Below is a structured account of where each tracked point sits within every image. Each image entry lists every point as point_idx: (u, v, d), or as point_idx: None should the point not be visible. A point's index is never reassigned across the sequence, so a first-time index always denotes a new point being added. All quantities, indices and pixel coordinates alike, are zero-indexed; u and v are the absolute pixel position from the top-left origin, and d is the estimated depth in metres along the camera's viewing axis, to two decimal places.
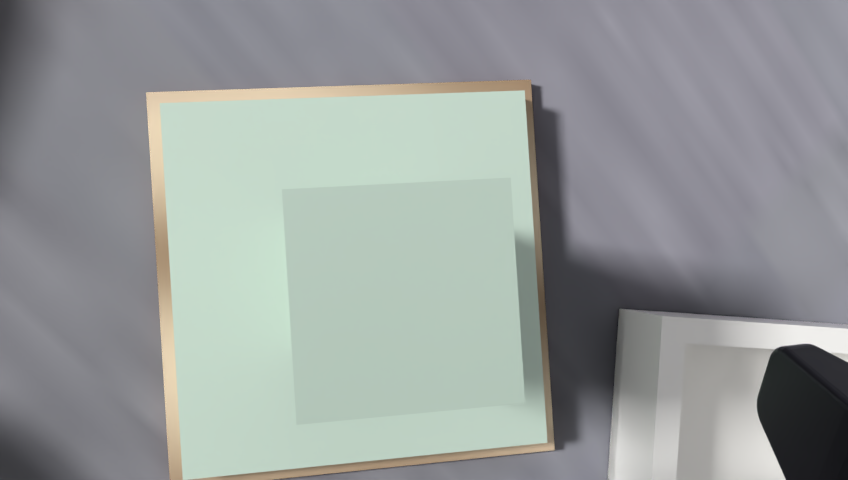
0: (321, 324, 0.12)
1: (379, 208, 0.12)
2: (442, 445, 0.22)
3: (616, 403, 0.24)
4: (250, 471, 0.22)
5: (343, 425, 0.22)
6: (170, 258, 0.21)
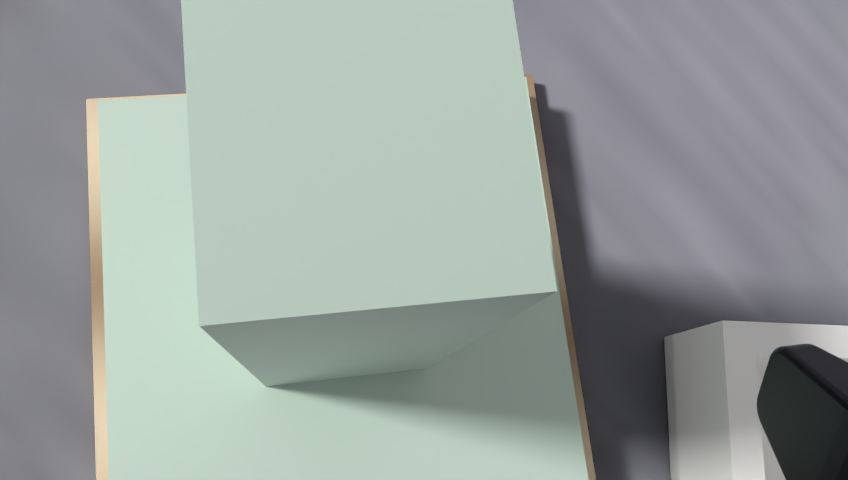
0: (238, 175, 0.08)
1: (322, 16, 0.08)
2: None
3: (675, 455, 0.19)
4: None
5: None
6: (104, 280, 0.17)
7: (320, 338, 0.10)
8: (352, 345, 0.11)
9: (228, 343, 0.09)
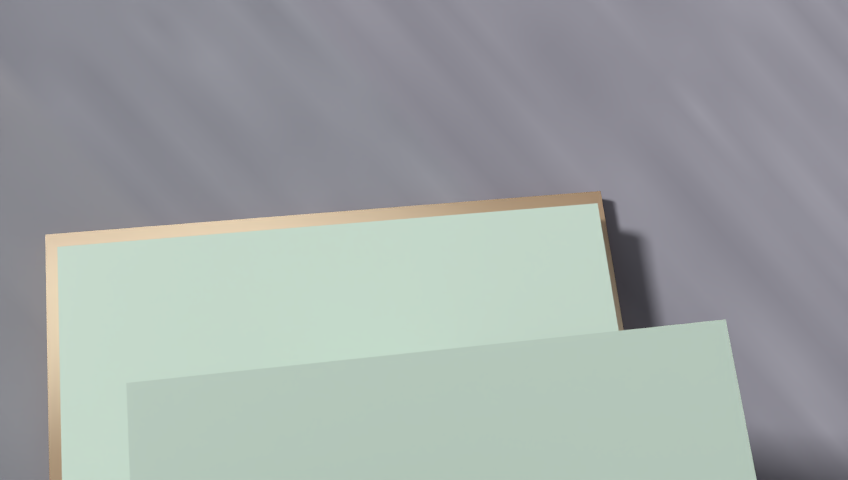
0: None
1: (391, 418, 0.05)
2: None
3: None
4: None
5: None
6: None
7: None
8: None
9: None
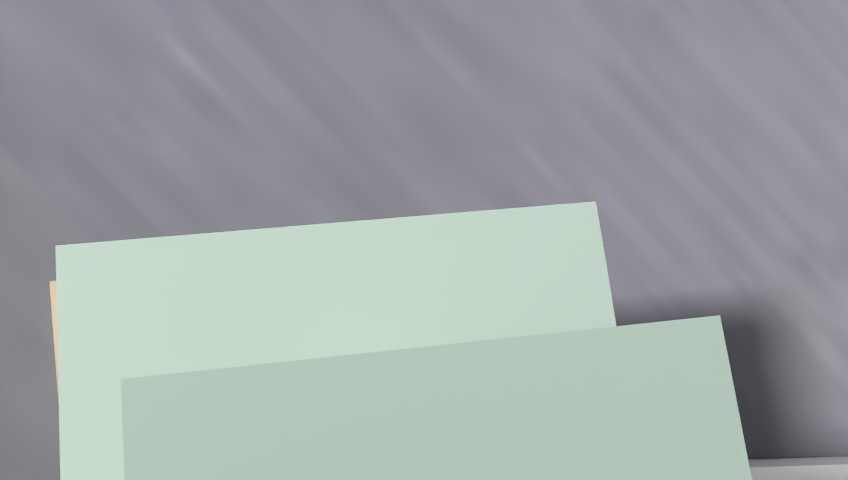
0: None
1: (386, 414, 0.05)
2: None
3: None
4: None
5: None
6: None
7: None
8: None
9: None
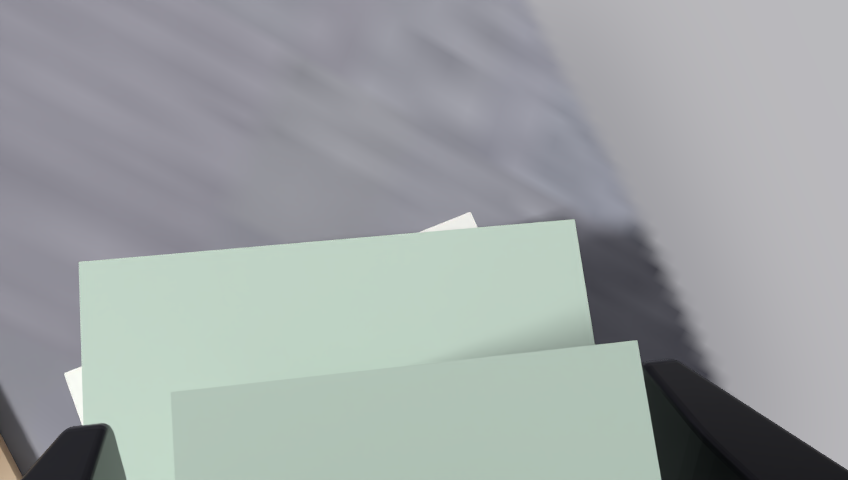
0: None
1: (375, 419, 0.06)
2: None
3: None
4: None
5: None
6: None
7: None
8: None
9: None
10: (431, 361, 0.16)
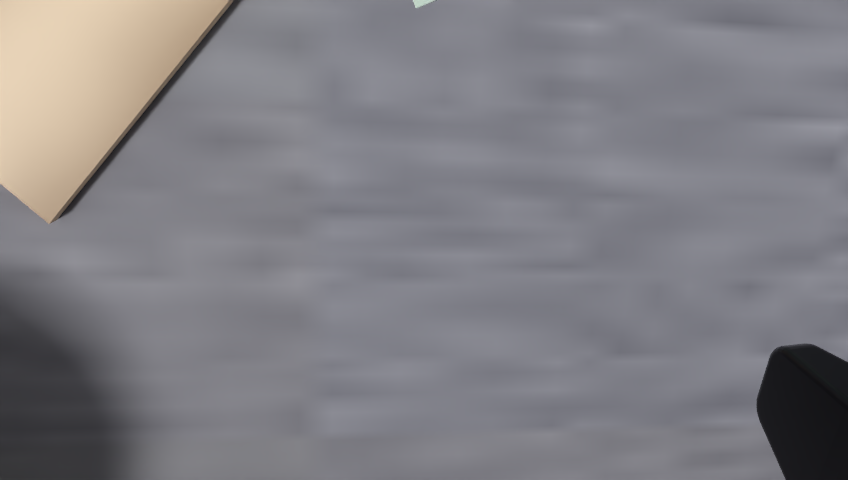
0: None
1: None
2: None
3: None
4: None
5: None
6: None
7: None
8: None
9: None
10: None
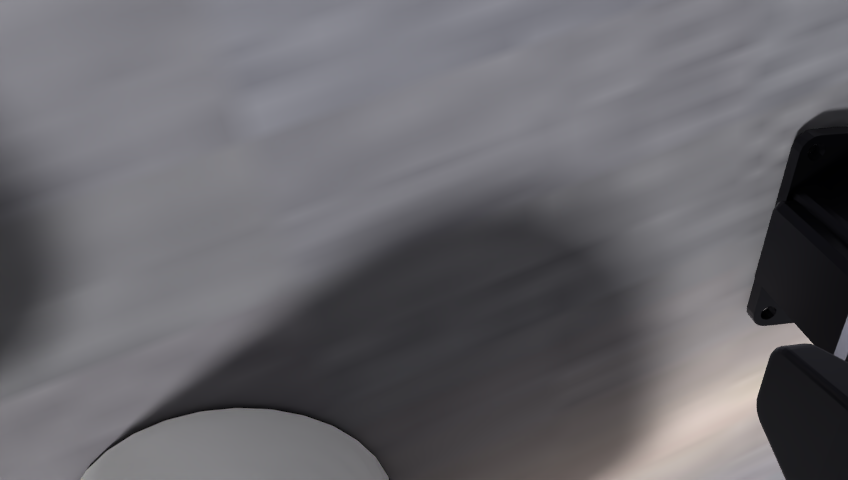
0: None
1: None
2: None
3: None
4: None
5: None
6: None
7: None
8: None
9: None
10: None
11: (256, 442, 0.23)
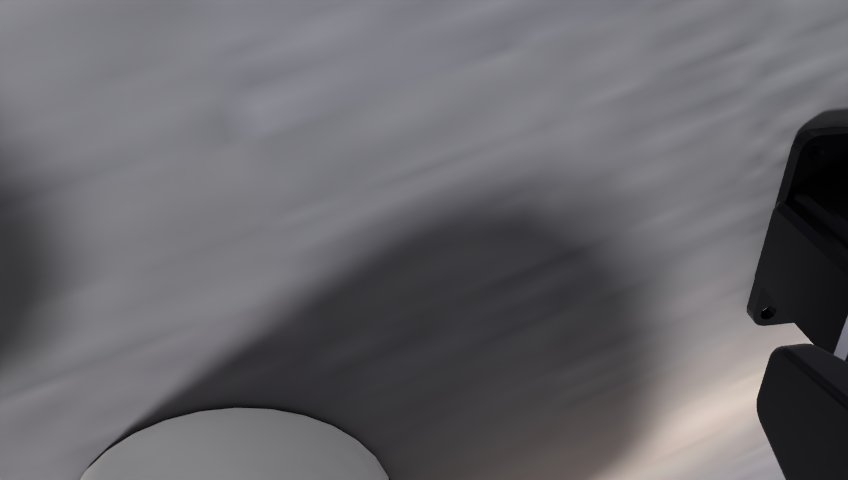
0: None
1: None
2: None
3: None
4: None
5: None
6: None
7: None
8: None
9: None
10: None
11: (256, 442, 0.23)
